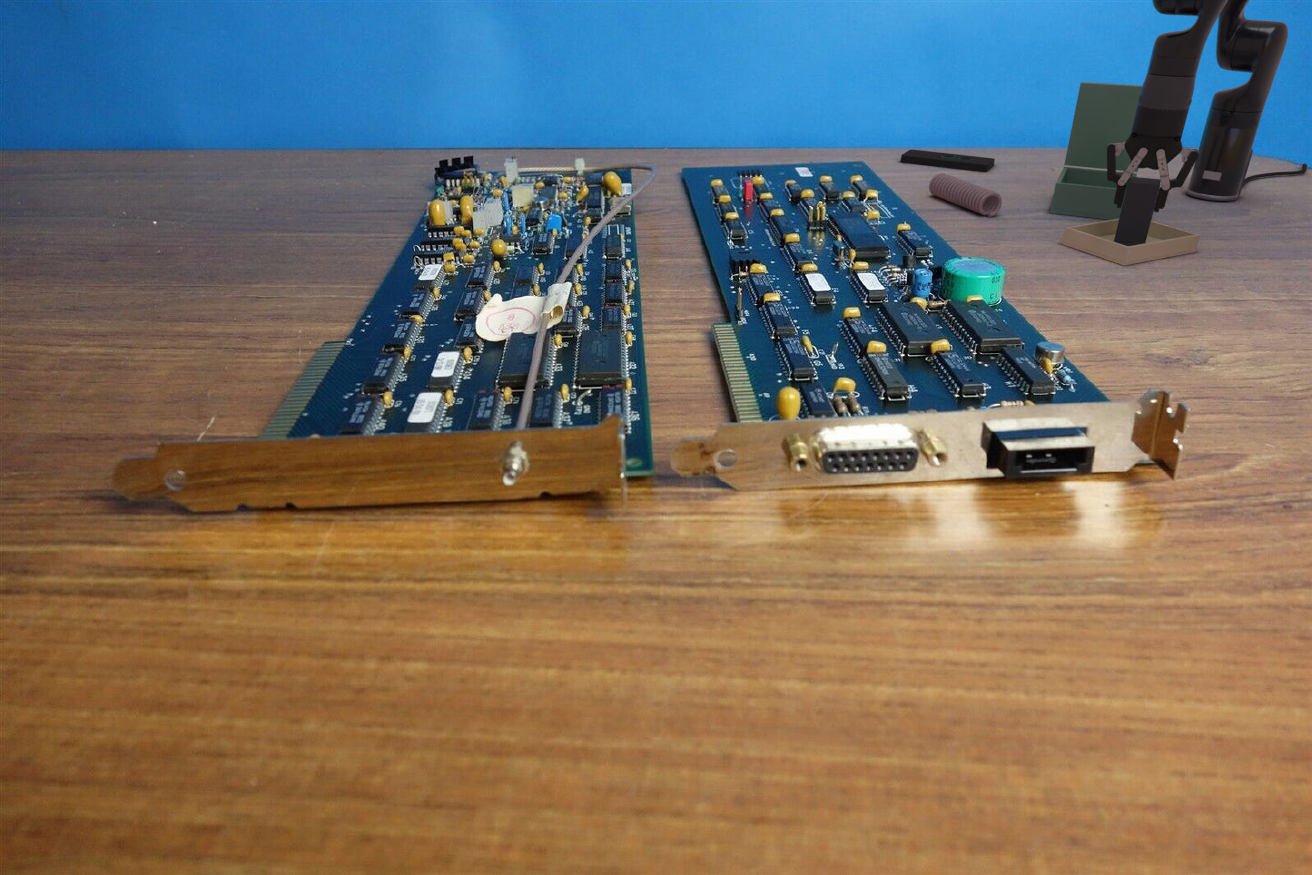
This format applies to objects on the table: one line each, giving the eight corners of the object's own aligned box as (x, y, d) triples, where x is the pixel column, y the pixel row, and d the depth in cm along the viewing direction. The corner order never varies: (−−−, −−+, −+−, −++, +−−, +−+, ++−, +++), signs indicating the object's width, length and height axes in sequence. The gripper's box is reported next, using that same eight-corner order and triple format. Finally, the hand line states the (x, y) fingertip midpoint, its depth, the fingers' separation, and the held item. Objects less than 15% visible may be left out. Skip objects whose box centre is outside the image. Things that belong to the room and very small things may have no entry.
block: (1143, 250, 158) (1160, 185, 153) (1112, 247, 160) (1128, 182, 154) (1144, 243, 162) (1160, 179, 156) (1114, 239, 164) (1129, 176, 158)
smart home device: (987, 164, 210) (900, 154, 219) (986, 172, 211) (899, 162, 220) (995, 157, 217) (910, 148, 225) (994, 165, 217) (910, 155, 226)
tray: (1130, 232, 169) (1135, 215, 168) (1195, 252, 159) (1200, 234, 158) (1061, 244, 163) (1065, 227, 161) (1124, 265, 152) (1128, 247, 151)
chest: (1126, 221, 175) (1133, 190, 173) (1049, 213, 181) (1055, 183, 178) (1129, 202, 188) (1137, 173, 185) (1058, 195, 193) (1064, 166, 190)
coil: (1006, 193, 177) (949, 172, 191) (986, 192, 175) (930, 171, 190) (999, 217, 179) (943, 195, 194) (980, 217, 177) (925, 194, 192)
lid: (1158, 87, 175) (1160, 79, 178) (1080, 83, 180) (1083, 75, 183) (1137, 172, 184) (1139, 163, 188) (1064, 165, 190) (1067, 156, 193)
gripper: (1213, 104, 150) (1184, 209, 158) (1116, 97, 155) (1093, 199, 163) (1214, 111, 144) (1184, 220, 152) (1113, 103, 149) (1089, 209, 158)
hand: (1137, 208), depth 158 cm, fingers open, 5 cm apart
